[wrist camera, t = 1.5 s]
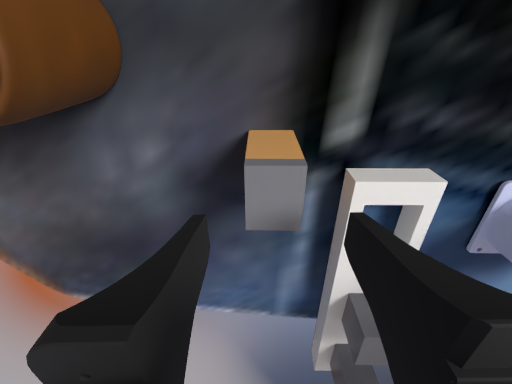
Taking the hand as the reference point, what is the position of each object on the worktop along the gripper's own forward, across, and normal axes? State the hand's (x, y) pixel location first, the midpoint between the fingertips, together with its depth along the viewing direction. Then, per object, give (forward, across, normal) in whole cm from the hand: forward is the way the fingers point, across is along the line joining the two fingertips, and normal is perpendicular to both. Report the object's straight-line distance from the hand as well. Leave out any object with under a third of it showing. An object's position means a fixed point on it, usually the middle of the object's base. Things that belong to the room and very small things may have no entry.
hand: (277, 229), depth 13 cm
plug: (+10, 0, 0) cm, 10 cm away
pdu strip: (+9, -10, +15) cm, 20 cm away
